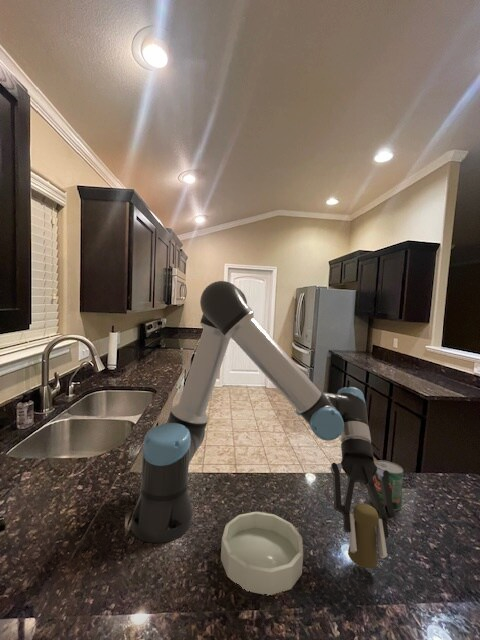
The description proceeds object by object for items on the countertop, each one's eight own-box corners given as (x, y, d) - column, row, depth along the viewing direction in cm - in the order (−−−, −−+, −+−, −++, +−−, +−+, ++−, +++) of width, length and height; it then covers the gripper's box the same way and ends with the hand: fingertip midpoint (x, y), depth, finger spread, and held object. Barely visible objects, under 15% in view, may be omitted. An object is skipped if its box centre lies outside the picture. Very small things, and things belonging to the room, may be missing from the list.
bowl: (213, 584, 59) (214, 562, 59) (230, 525, 76) (231, 507, 76) (303, 602, 56) (305, 578, 56) (299, 536, 74) (300, 518, 74)
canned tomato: (404, 503, 91) (406, 467, 91) (397, 514, 85) (399, 476, 85) (377, 491, 96) (379, 457, 96) (368, 501, 90) (370, 465, 90)
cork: (381, 571, 62) (385, 519, 62) (350, 564, 63) (354, 513, 63) (373, 550, 67) (377, 501, 67) (346, 544, 69) (349, 496, 69)
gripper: (388, 454, 79) (409, 565, 63) (318, 444, 82) (320, 548, 65) (397, 442, 74) (422, 560, 57) (322, 432, 76) (325, 542, 60)
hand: (368, 554), depth 61 cm, fingers closed on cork, 5 cm apart
